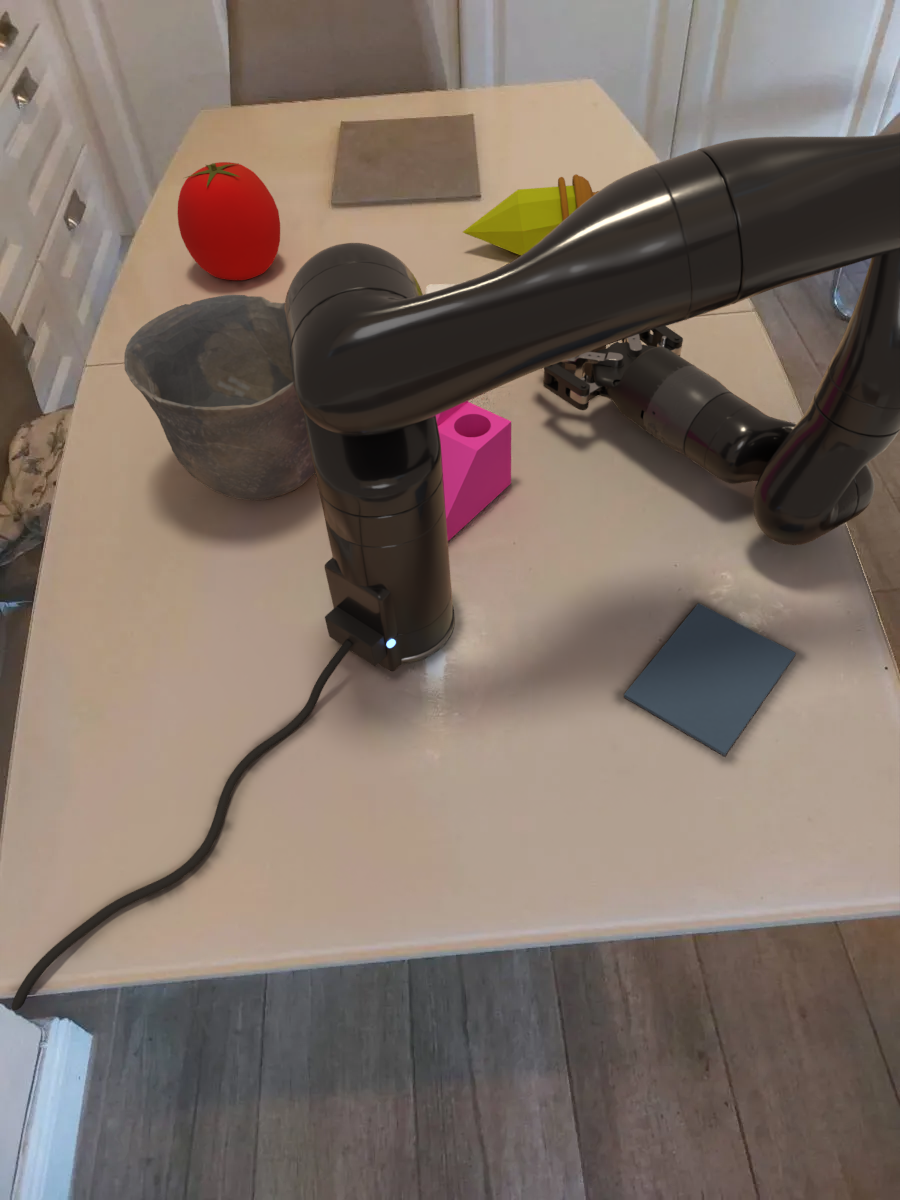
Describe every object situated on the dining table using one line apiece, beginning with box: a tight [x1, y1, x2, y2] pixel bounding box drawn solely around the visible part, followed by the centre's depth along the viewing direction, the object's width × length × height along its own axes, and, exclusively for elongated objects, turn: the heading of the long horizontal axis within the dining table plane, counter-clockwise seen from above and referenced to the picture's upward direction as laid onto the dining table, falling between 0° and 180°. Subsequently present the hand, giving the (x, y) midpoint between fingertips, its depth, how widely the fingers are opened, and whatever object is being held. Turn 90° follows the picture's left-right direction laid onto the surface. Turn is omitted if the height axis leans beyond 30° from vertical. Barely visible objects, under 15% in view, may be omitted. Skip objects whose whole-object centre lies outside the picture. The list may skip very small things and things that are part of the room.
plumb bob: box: [462, 173, 600, 256], centre depth 116 cm, size 9×9×25 cm
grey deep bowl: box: [123, 294, 315, 501], centre depth 87 cm, size 18×18×15 cm
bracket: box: [436, 400, 512, 542], centre depth 86 cm, size 12×10×10 cm
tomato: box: [176, 161, 281, 281], centre depth 114 cm, size 13×11×14 cm
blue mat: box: [623, 602, 797, 757], centre depth 74 cm, size 12×9×1 cm
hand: (566, 329), depth 97 cm, fingers open, 8 cm apart
